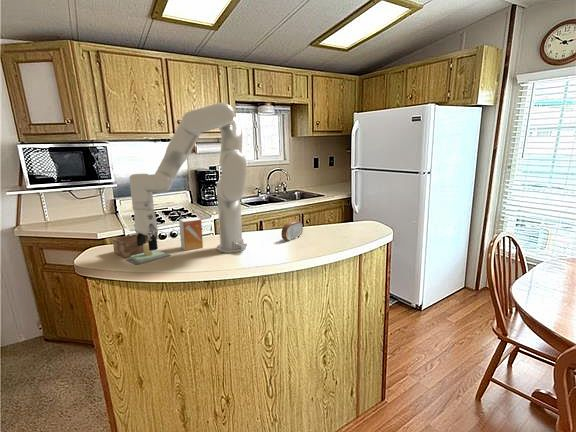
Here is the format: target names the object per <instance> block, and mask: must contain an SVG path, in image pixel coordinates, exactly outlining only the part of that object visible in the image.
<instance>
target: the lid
mask: <svg viewBox="0 0 576 432" xmlns="http://www.w3.org/2000/svg"><path fill="white" fill-rule="evenodd" d="M143 250H144V253H141V254H137V255H133V256H130V257H131V259H133V260H135V261H137V262H139V263H142V262H145V261H149V260H152V259H156V258H160V257H163V256H166V252H163V251H162V250H158V249H156V250H153V251H150V250H149V244H148V243H145V244H143Z"/></svg>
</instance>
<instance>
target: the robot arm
mask: <svg viewBox="0 0 576 432" xmlns="http://www.w3.org/2000/svg"><path fill="white" fill-rule="evenodd" d="M234 110H235V109H233V107H232V106H231V105H230V104H228V103H227V102H218V103H214V104H213V103H212V104H211V105H207V106H204V107H200V108H197V109H192V110H189V111H187V112H185V113H184V114H183V115H182V118H181V120H180V122H179V125H178V126H177V127H176V130H175V131H174V133H173V136H172V137H171V139H170V141H169V142H168V145H167V147H166V150H165V153H164V156H163V158H162V160H161V162H160V164H159V166H158V167H157V169H156V171H155V173H154V174H148V173H133V174H130V176H129V185H130V186H129V187H130V194H131V204H132V211H133V216H134V217H133V218H134V219H133V220H134V224H133V227H134V231H135V234H136V236H137V244H138V246H141V245H143V244H145V243H146V240H145V235H147V236H148V239H149V241H148V244H149V250H150V251H152V250H158V234H159V233H158V231H159V230H158V221H157V218H156V217H157V216H156V212H155V209H154V208H155V207H154V206H155V205H154V196H153V193H158V194H160V193H161V194H162V193H167V192H169V190H171V188H172V185H173V182H174V181H175V179H176V176H177V174H178V172H179V171H180V169H181V168H182V166H183V164H184V163H185V162H186V161H187V159H188V158H189V156H190V154H191V153H192V151H193V149H194V147H195V145H196V143H197V141H198V140H199V138H200V135H201V133H206V132H209V131H213V130H216V129H218V130H219V131H220V135H221V136H220V137H221V139H220V141H221V145H220V157H219V166H220V168H221V173H220V177H221V178H219V180H218V181H217V184H216V188H215V189H216V196H217V197H216V198H217V199H216V200H217V208H218V209H217V210H218V226H219V227H218V228H219V229H218V231H219V232H218V233H219V244H218V245H217V246H216V251H217V252H219V253H224V254H227V253H228V254H231V253H233V254H234V253H239V252H242V251H244V250H246V249H247V246H248V243H246V242H244V239H243V233H242V232H243V231H242V230H243V229H242V228H243V227H242V207H241V206H242V205H241V204H242V203H241V199H242V197H243V196H244V194H245V188H246V178H247V177H246V176H247V159H246V158H245V156H244V154H243V152H242V151H243V130H242V127H241V125H240V123H239V122H240V121H239V120H238V119H237V118H236V116H235V111H234ZM150 235H152V236H150Z"/></svg>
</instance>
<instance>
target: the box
mask: <svg viewBox="0 0 576 432" xmlns="http://www.w3.org/2000/svg"><path fill="white" fill-rule="evenodd" d="M150 236H152V235H150ZM145 240H146V243H148V241H149V239H148V236H147V235H145ZM112 244H113V245H112V246H113V253H114V255H117V256H119V257H121V258H123V259H125V260H126V259H129V258H131V257H130V256H133V255H137V254H141V253H144V250H143V245H141V246H138V244H137V236H136V233H135V234H129V235H125V236H120V237H119V236H118V237H115V238H112ZM152 251H153V250H152Z"/></svg>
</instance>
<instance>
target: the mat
mask: <svg viewBox="0 0 576 432" xmlns="http://www.w3.org/2000/svg"><path fill="white" fill-rule="evenodd" d="M165 253H166V252H165ZM170 256H171V254H169V253H166V256H163V257H160V258H156V259H152V260H149V261H145V262H142V263H139V262H137V261H135V260H133V259H131V258H127V259H125V261H127V262H129V263H131V264H133V265H136V266H139V265H142V264H146V263H149V262H153V261H156V260H160V259H163V258H167V257H170Z"/></svg>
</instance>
